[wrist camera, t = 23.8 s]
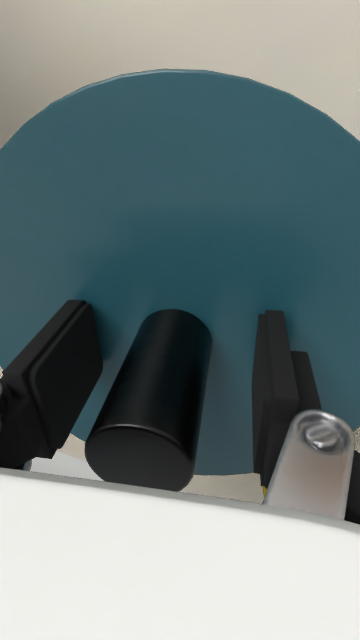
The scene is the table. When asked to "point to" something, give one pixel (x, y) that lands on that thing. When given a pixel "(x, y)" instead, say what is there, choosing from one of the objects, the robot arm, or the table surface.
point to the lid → (183, 258)
